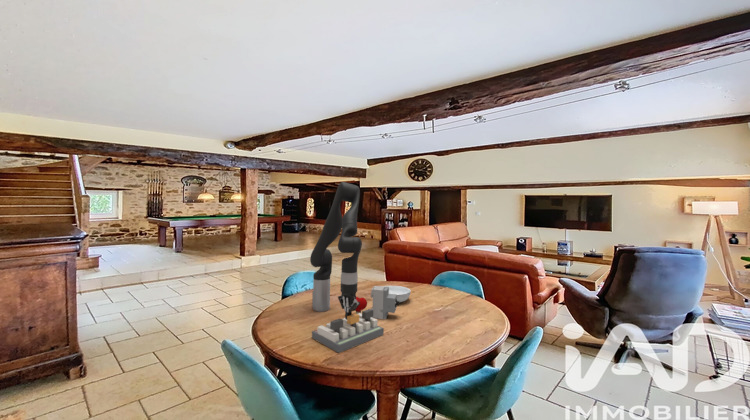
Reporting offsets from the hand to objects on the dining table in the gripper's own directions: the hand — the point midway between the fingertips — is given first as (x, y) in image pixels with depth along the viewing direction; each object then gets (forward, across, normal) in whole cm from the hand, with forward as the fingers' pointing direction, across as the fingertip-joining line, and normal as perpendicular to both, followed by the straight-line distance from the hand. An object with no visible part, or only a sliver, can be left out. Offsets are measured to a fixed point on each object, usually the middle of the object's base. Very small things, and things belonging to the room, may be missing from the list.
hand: (348, 319), depth 146 cm
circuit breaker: (+8, +5, -30) cm, 32 cm away
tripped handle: (+4, -3, 0) cm, 6 cm away
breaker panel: (+8, 0, 0) cm, 8 cm away
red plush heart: (+8, +15, -20) cm, 26 cm away
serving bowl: (+9, +20, -53) cm, 57 cm away
